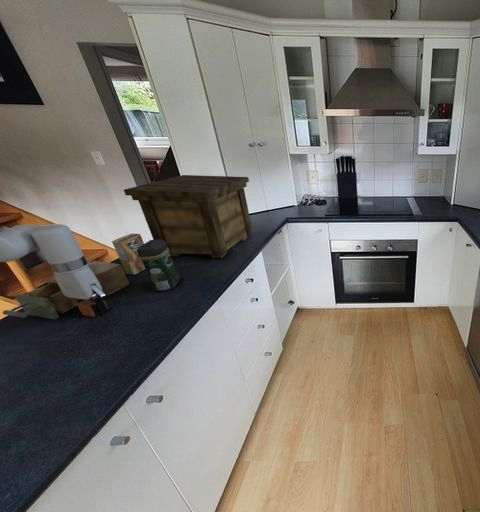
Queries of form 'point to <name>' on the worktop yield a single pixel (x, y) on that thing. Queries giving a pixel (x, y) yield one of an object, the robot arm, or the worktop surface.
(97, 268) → the cabinet
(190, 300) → the worktop surface
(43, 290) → the drawer
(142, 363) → the worktop surface
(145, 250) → the coffee jar
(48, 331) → the worktop surface
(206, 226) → the crate
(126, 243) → the candy box
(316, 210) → the worktop surface
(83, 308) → the block
